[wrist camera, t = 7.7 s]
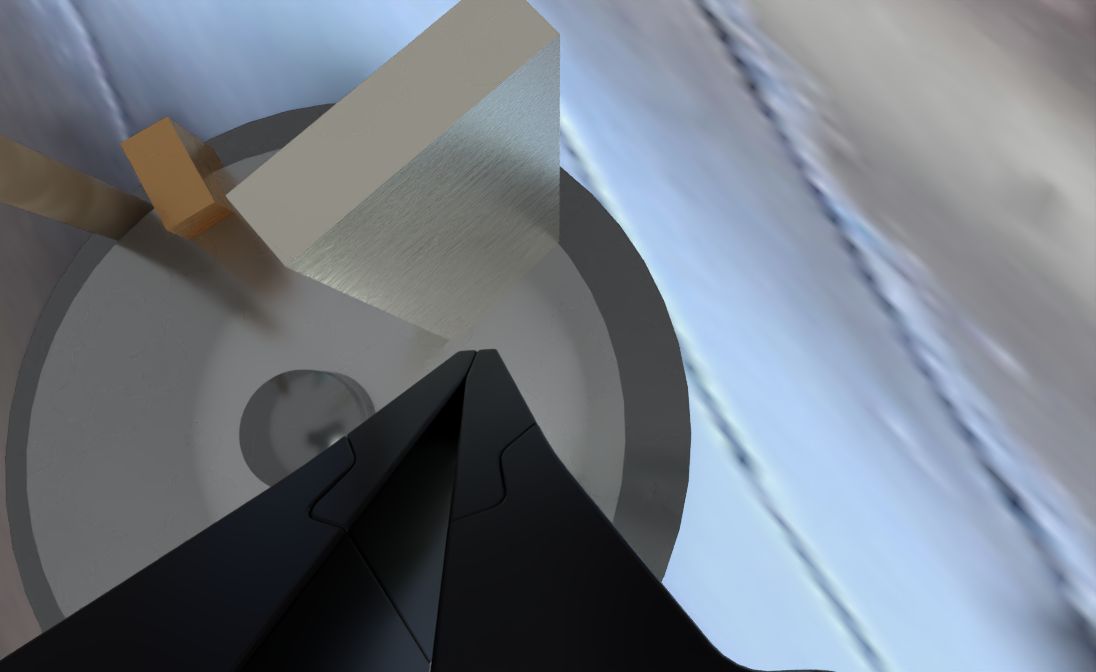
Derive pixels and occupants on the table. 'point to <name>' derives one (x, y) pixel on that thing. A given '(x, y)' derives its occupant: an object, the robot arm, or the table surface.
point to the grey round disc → (617, 290)
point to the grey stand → (319, 301)
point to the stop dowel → (65, 193)
